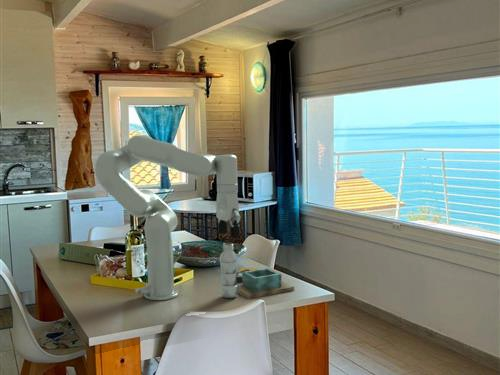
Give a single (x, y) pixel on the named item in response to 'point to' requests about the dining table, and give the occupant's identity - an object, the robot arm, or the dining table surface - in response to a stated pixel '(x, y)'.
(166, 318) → the dining table surface
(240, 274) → the electronic device
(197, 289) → the dining table surface
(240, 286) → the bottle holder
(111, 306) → the dining table surface
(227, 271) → the plastic bottle
